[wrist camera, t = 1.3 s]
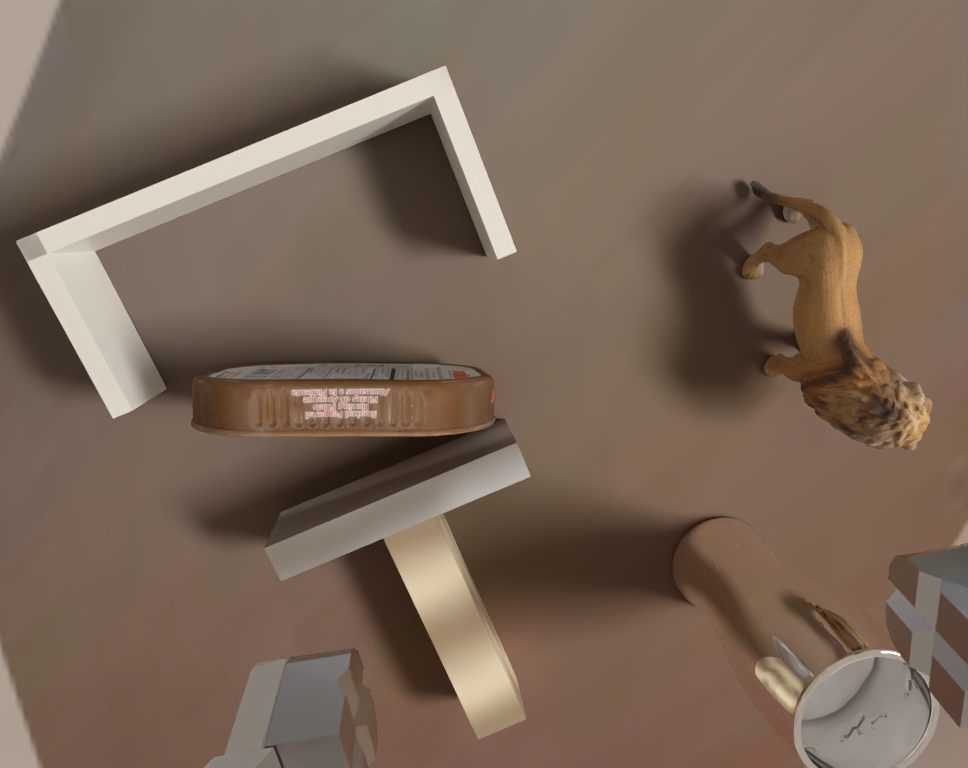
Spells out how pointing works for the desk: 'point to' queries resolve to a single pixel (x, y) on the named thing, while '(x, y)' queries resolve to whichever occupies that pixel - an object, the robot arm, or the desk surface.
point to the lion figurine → (837, 333)
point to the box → (72, 243)
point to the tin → (342, 399)
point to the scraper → (423, 555)
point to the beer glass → (806, 653)
